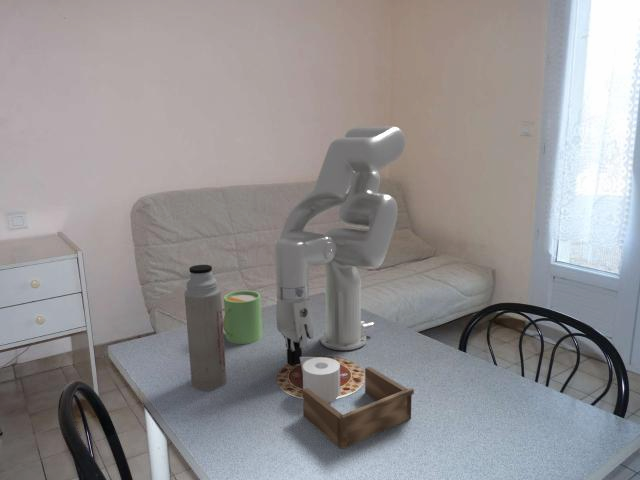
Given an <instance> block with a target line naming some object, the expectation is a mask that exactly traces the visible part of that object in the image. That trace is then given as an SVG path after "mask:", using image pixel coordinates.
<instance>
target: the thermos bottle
mask: <svg viewBox="0 0 640 480" xmlns="http://www.w3.org/2000/svg"><path fill="white" fill-rule="evenodd" d="M188 270H189V273H190V276H189V277H190V279H189V280H188V281H187V282H186V290H185V291H184V292H183V293H184V303H185V304H184V305H185V319H186V329H187V331H186V332H187V343H188V351H189V367H190V368H189V369H190V381H191V386H192V387H193V388H194V389H196V390H198V391H204V392H205V391H213V390H217V389H220V388H222V387H223V386H224V385H225V384H226V382H227V368H226V353H225V351H226V350H225V336H224V334H225V332H224V327H223V320H224V316H223V306H222V305H223V303H222V290H221V288H220V287H219V286H218V285H219V284H218V280H217V278H215V277H213V275H214V274H213V266H212V265H210V264H197V265H192V266H191V267H189V269H188Z"/></svg>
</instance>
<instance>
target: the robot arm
mask: <svg viewBox="0 0 640 480" xmlns="http://www.w3.org/2000/svg"><path fill="white" fill-rule="evenodd" d="M405 145H406V137H405V133H404V132H403V130H401V128H399V127H397V126H393V125H392V126H391V125H390V126H389V125H388V126H384V125H383V126H381V125H380V126H357V127H353V128H351V129H349V130H348V131H347V132H346V133H345V135H344V137H340V138H339V137H338V138H336V139H334V140H333V141H331V142H330V144H329V146H328V149H327V151H326V154H325V157H324V159H323V162H322V165H321V167H320V168H321V169H320V171H319V173H318V175H317V179H316V181H315V182H316V183H315V185H314V187H313V189H312V190H311V191H310V192H309V193H308V194H306V195H305V196H304V197H303V198H302V199H301V200H299V202H298V203H297V204H296V205H295V206H294V207H293V208H292V209H291V211H289V213H288V215H287V217H286V219H285V222H284V223H283V224H284V225H283V228H282V230H281V233H280V237H279V240H277V241H276V242H275V245H274V257H275V259H274V262H275V264H274V265H275V285H276V286H275V287H276V288H275V289H276V292H275V293H276V316H275V317H276V328H277V331H278V332H279V333H280V334H281V336H282V337H283V338H284V344H285V347H286V361H287V362H286V363H287V365H289V366H290V367H294V366H298V365H301V362H300V357H303V352H302V351H303V349H306V348H308V347H309V344H308V339H310V340H312V339H313V338H314V320H313V310H312V306H311V305H312V304H311V300H310V298H309V294H310V293H309V292H310V291H309V287H310V286H309V268H311V267H318V266H323V267H324V279H325V280H324V281H325V282H324V283H325V332H323V333H322V334H321V335H320V343H321V345H322V346H324V347H325V348H327V349H330V350H335V351H352V350H356V349H359V348H362V347H364V345H366V344H367V335H366V334H365V333H366V332H367V331H370V330H373V329H375V326H376V325H375V323H374V322H373V321H369V322H367V323H365V321H364V320H361V319H362V300H361V299H362V281H361V276H360V273H359V270H358V268H361V269H369V270H375V269H378V268H380V266H382V264H383V263H384V260H385V258H386V256H387V253H388V249H389V246H390V243H391V240H392V237H393V234H394V231H395V227H396V224H397V222H398V221H397V220H398V211H399V210H398V209H399V208H398V204H397V202H396V200H395V198H394V197H392V196H391V195H389V194H387V193H381V192H380V193H379V187H380V185H381V176H380V173H379V171H380V170H383V168H386V167H387V166H388V165H389V164H391V163H393V162H394V161H396V160H398V159H399V158H400V156H401V155H402V154H403V152H404V149H405V147H406V146H405ZM336 207H339V208H338V219H339V221H340V222H341V223H342V224H344V225H345V226H348V227H352V228H347V227H333V228H330V229H328V230H327V231H325V233H324V234H323V233H319V232H312V231H307V230H306V228H307V226H308V224H309V223H310V222H311V221H312V220H313V219H314V218H315V217H317V216H319V215H320V214H323V213H325V212H327V211H329V210H333V209H335V208H336ZM354 228H358V229H354ZM359 228H360V230H359ZM361 229H368V230H361ZM305 230H306V231H305Z"/></svg>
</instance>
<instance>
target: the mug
mask: <svg viewBox="0 0 640 480" xmlns="http://www.w3.org/2000/svg"><path fill="white" fill-rule="evenodd" d="M261 299H262V298H261V294H260V293H259V292H257V291H255V290H237V291H232V292H229V293H227V294H225V295H224V296H223V309H222V312H223V311H224V315H223V332H224V334H225V338H226V341H227V342H229V343H231V344H236V345H237V344H238V345H245V344H251V343H252V344H253V343H256V342H258V341H259V340H260V339H262V337H263V327H262V326H263V325H262V323H263V322H262V305H261V303H262V300H261Z"/></svg>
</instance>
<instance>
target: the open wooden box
mask: <svg viewBox="0 0 640 480" xmlns="http://www.w3.org/2000/svg"><path fill="white" fill-rule="evenodd" d="M364 371H365V372H364V376H365V378H364V379H365V380H364V381H365V382H364V386H365V387H364V390H365V391H364V393H365V394H366V395H368V396H369V397H371V398H373V399H374V400H376V401H374V402H370V403H368V404H366V405H364V406H361V407H357V408H356V409H354V410H351V411H348V412H346V413H343V414H342V413H341V412H340V411H338V409H336V408H335V407H333V406H332V405H331V404H330V403H327V402H325V401H324V400H323V399H321V398H320V397H319V396H317V395H316V394H315V393H314V392H312V391H311V390H310V389H308V388H306V389H303V388H302V410H303V411H302V416H303V417H304V419H306V420H307V421H308V422H309V423H310V424H312V426H313V427H315V428H316V429H318V430H319V431H320V432H321V433H322V434H323V435H325V436H326V438H328V439H329V441H331V442H333V444H335V445H336V447H337V446H338V448H340V449H341V450H343V449H346V448H347V447H349V446H353V445H354V444H356V443H359V442H361V441H362V440H363V441H364V440H365V439H368V438H370V437H372V436H374V435H376V434H378V433H381V432H384V431H385V430H387V429H390V428H392V427H395V426H397V425H398V424H399V425H400V424H401V423H404V422H406V421H408V420H411V419H412V398H413V397H412V395H414V394H415V392H414V391H415V389H414V388H413V387H412V388H411V387H410V388H407V387H406V386H404V385H402V384H400V383H398V382H396V381H395V380H393V379H392V378H390V377H388V376H386V375H385V374H383V373H382V372H380V371H378V370H377V369H375V368H373V367H371V366H367V367H365V368H364Z"/></svg>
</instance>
